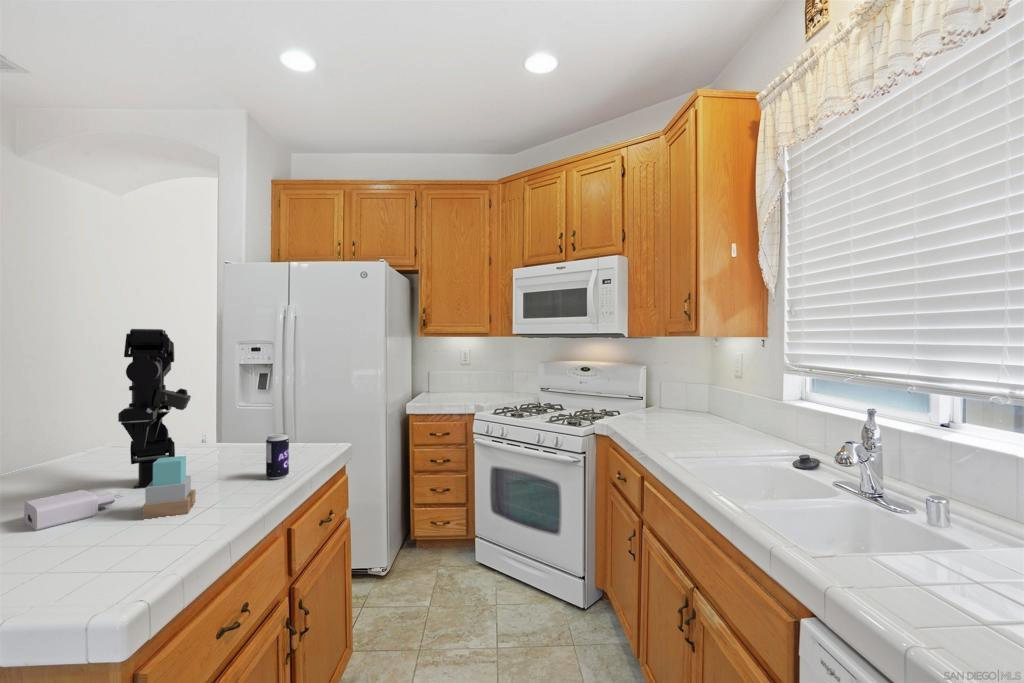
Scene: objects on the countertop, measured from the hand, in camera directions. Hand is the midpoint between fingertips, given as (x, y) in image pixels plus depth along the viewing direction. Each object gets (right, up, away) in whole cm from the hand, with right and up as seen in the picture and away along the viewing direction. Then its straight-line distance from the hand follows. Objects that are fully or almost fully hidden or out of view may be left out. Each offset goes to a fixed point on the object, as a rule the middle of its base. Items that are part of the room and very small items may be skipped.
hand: (146, 445), depth 110 cm
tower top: (+11, -10, -8) cm, 17 cm away
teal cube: (+11, -6, -8) cm, 15 cm away
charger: (-7, -13, -10) cm, 18 cm away
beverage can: (+22, -13, +18) cm, 32 cm away
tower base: (+11, -14, -7) cm, 19 cm away
